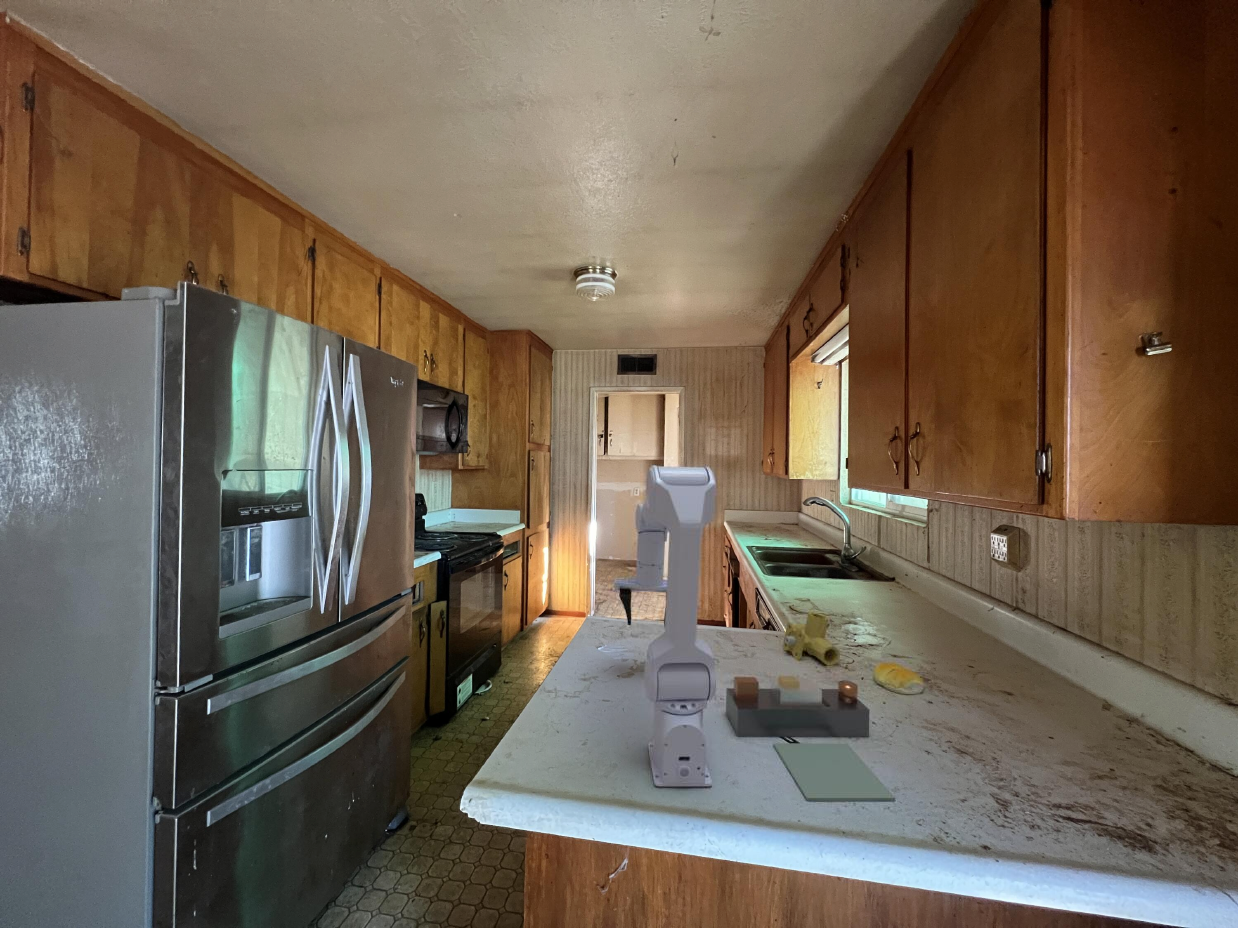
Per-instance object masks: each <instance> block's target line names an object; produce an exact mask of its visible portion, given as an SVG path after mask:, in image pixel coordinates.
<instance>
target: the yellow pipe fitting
mask: <svg viewBox="0 0 1238 928" xmlns="http://www.w3.org/2000/svg"><path fill="white" fill-rule="evenodd" d="M828 621H829V617H828V616H826V615H824V614H823V613H819V612H815V611H809V612H807V617H806V621H805V625H804V624H802V623H798V624H795V625H794V623H792V622H789V621H787V624H786V629H785V634H784V639H783V643H782V648H783V650H784V651H785V652H789V651H790V652H791V653H792V656H793V658H794V659H795V660H796V661H800V660H802V657H803V656H802V655H803V651H805V652H806V653H807V654H809V656H813V657H816V658H817V659H818V660H819V661H821V662H822V663H823V664H825V665H826V666H828V667H829V666H834V665H836V664H837V662H838V661H839V659H840V650H839V648H837V647H836V646H835V645H833V644H831V643H830V642H829V641H828V640H827V639H826V632H827V629H828V623H829V622H828Z"/></svg>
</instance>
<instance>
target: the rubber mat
mask: <svg viewBox="0 0 1238 928" xmlns="http://www.w3.org/2000/svg"><path fill="white" fill-rule="evenodd" d="M772 746H773V748H774V750H775V752H776V753H777V754H778V757H779V758H780V759H781V761H782V763H783V764H784V767H785V768H786V770H787V771H788V773H789V774H790V776H791V777H792V779H793V781H794V782H795V784H796V786H797V787H798V790H799V791H800V792H801V794H802V795H803V798H804V799H805V801H806V802H895V801H896V797H895V796H894V795H893V793H892V792H891V791H890V790H889V789H888V788H887V787H886V786H885V784H883V782H882V781H881V780H880V779H879V777H878V776H877V775H876V774H875V773H874V772H873V770H871V768H869V766H868V765H867V764H866V763H865V761H864V760H862V758H861V757H860V756H859V755H858V754H857V753H856V752H855V750H854V749H853V748H852V747H851V746H850V745H849V744H848V743H806V742H805V743H803V742H802V743H789V742H788V743H784V742H783V743H778V742H777V743H776V742H774V743H773V745H772Z"/></svg>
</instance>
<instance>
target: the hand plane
mask: <svg viewBox="0 0 1238 928" xmlns="http://www.w3.org/2000/svg"><path fill="white" fill-rule="evenodd" d="M759 684H760V682H759V681H758V679H757V678H756V677H755V676H734V677H733V688H730V687H729V688H728V687H726V691H725V693H726V695H725V696H726V697H725V700H726V701H725V715H726V717H727V718H728V721H729V723H730V725H731V727H732V729H733V730H734V733H735V735H736V737H740V738H741V737H748V738H749V737H751V738H753V737H754V738H757V737H758V738H759V737H760V738H761V737H763V738H764V737H767V738H768V737H770V738H771V737H780V738H781V737H782V738H785V737H788V738H796V737H797V738H799V737H800V738H801V737H802V738H804V737H806V738H809V737H810V738H811V737H812V738H869V737H870V710H871V709H869V708H868V706H866V705H865V704H864V703H863V702H862V701H861V700H860V699H858V693H859V692H858V689H859V687H858V684H856V683H855V682H853V681H850V680H839V681H838V683H837V684H838V685H837V688H820V689H821V690H822V706H786V705H780V704H779V703H778V702H777V700H776V699H775V698H774V696H773V695H772V693H771V692H770V688H759V687H760V685H759Z"/></svg>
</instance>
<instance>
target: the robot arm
mask: <svg viewBox="0 0 1238 928" xmlns="http://www.w3.org/2000/svg"><path fill="white" fill-rule="evenodd" d="M645 482H646V485H645V487H646V489H645V491H646V492H645V493H646V499H645V501H644V503H643V504H642V503H638V504H637V506H636V508H635V509H636V510H635V519H634V520H635V529H636V532H637V546H636V569H635V577H629V578H614V592H615V591H616V592H619V595H618V596H619V599H620V601H621V604H622V606H623V608H624V611H625V615H626V620H627V625H628V626H632V593H633V592H634V591H637V592H650V593H651V592H654V593H657V592H658V593H665V609H664V617H663V627H664V632H663V633H662V634H661V635H659V636H658V637H657V638H655V639H653V641H651V642H649V644H648V647H647V649H646V660H645V662H644V669H643V671H644V675H643V676H644V690H645V695H646V699H648V700H649V702H650V703H653V704H654V705H653V738H652V739H653V741H649V742H648V743H647V749H648V754H649V761H650V767H651V771H652V773H651V774H652V778H653V779H652V780H653V785H654V786H656V787H711V786H713V780H712V777H711V774H710V772H709V768H708V766H707V763H706V756H707V753H706V752H707V750H706V749H707V742H706V737H705V733H704V730H703V726H704V722H703V721H704V710H705V709H708V702H711V701H712V700H713V698H714V697H715V695H716V692H717V691H716V690H717V675H716V669H715V668H716V667H715V663H716V661H715V656H714V654H713V651H712V650H711V647H710V646H709V644H707V643H706V642H705V641H704V640H702V639H701V637H699V636H697V634H698V633H697V631H698V630H697V629H698V613H699V611H698V610H699V596H700V595H699V592H700V591H699V590H700V589H699V588H700V573H701V553H702V552H701V551H702V542H703V541H702V540H703V539H702V538H703V534H704V533H703V532H704V527H706V526H707V525H709V524H711V523H713V521H714V520H715V519H714V517H715V514H716V513H715V511H716V496H717V483H716V482H717V481H716V479H715V474H714V471H712V469H711V468H710V467H709V466H702V467H701V466H700V467H695V466H692V467H691V466H662V465H661V466H659V465H655V464H654V465H653V464H652V465H651V466H650V467H649V469H648V470H647V473H646V481H645ZM667 541H668V553H667V554H668V555H667V573H666V575H667V578H666V579H664V576H665V575H664V573H665V552H666V550H665V549H666V547H665V546H666V542H667ZM632 591H633V592H632Z"/></svg>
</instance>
